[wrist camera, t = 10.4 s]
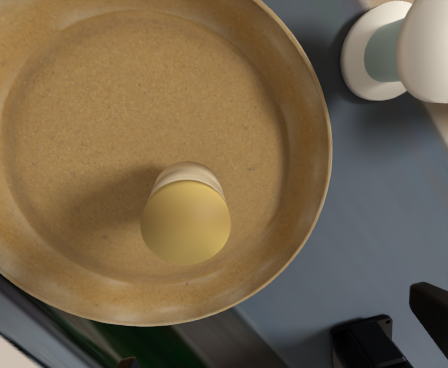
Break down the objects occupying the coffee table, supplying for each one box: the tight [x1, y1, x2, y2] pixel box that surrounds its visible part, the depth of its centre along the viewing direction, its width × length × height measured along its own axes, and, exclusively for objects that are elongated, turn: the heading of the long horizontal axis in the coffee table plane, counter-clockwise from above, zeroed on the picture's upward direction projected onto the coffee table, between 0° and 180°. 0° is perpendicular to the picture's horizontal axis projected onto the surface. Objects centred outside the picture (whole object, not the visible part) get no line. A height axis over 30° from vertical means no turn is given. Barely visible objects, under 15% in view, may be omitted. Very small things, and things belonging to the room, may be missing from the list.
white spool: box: [340, 0, 448, 103], centre depth 15 cm, size 6×6×6 cm
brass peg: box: [140, 161, 231, 265], centre depth 15 cm, size 4×4×4 cm
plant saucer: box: [0, 0, 332, 326], centre depth 18 cm, size 24×24×3 cm
